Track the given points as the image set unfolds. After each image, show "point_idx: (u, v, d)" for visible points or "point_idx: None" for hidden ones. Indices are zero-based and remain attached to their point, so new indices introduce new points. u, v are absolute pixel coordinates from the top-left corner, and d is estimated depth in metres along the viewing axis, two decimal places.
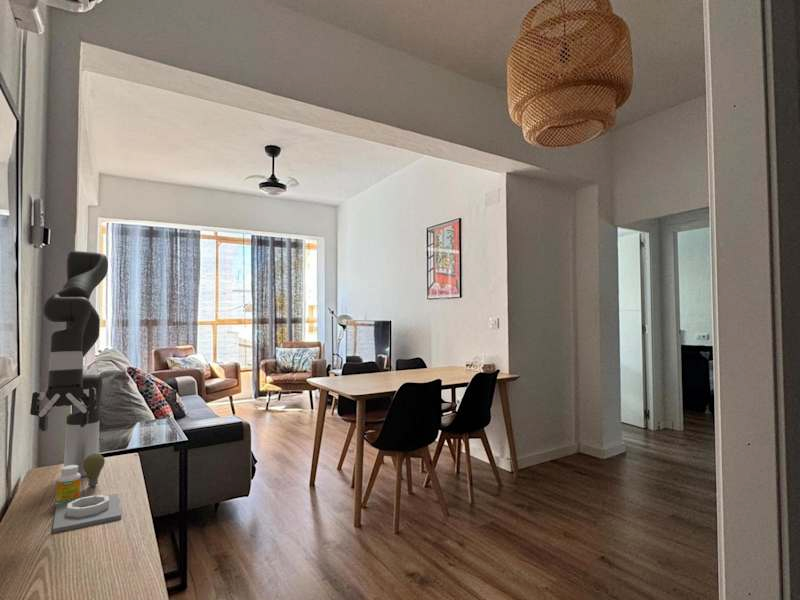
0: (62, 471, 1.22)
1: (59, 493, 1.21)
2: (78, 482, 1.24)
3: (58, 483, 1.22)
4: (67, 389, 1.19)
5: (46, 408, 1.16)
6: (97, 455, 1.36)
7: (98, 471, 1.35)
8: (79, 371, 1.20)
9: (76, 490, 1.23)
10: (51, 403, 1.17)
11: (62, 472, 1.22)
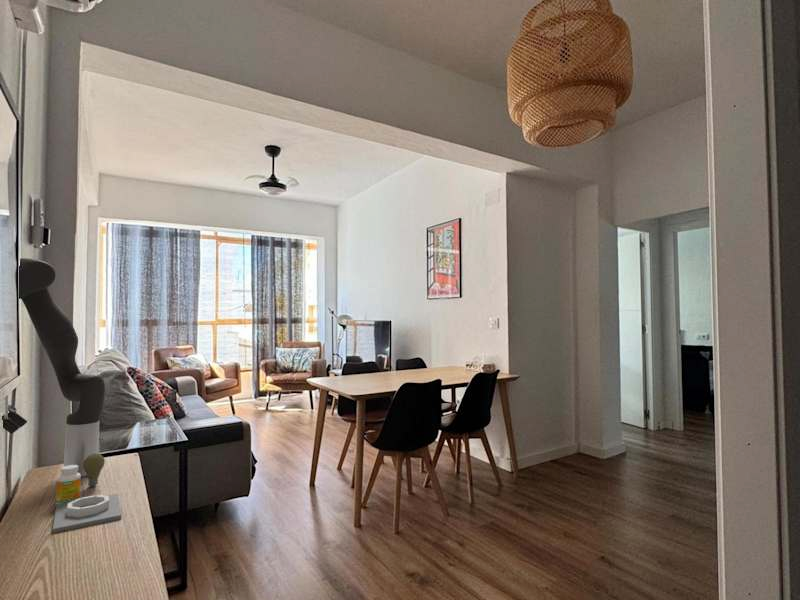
0: (62, 471, 1.22)
1: (59, 493, 1.21)
2: (78, 482, 1.24)
3: (58, 483, 1.22)
4: None
5: None
6: (97, 455, 1.36)
7: (98, 471, 1.35)
8: None
9: (76, 490, 1.23)
10: None
11: (62, 472, 1.22)
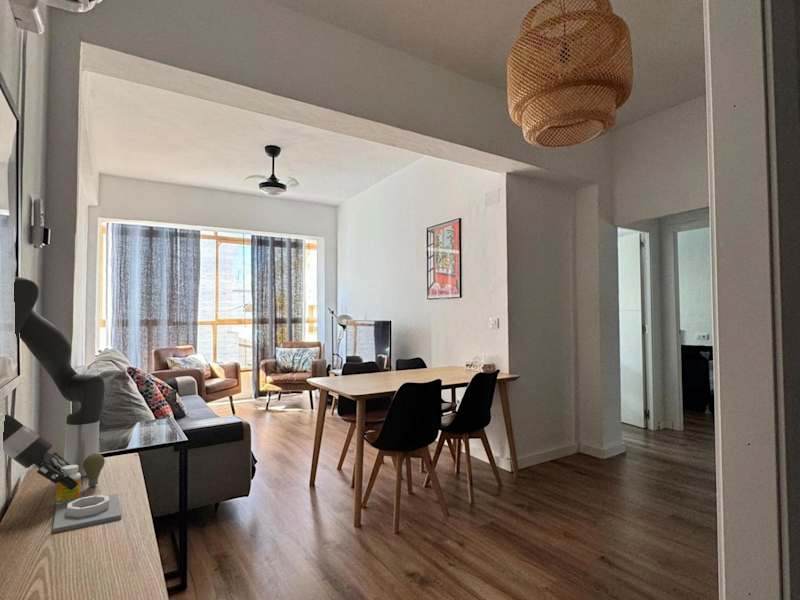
0: None
1: (59, 493, 1.21)
2: (78, 482, 1.24)
3: (58, 483, 1.22)
4: None
5: None
6: (97, 455, 1.36)
7: (98, 471, 1.35)
8: (20, 456, 1.17)
9: (76, 490, 1.23)
10: None
11: None
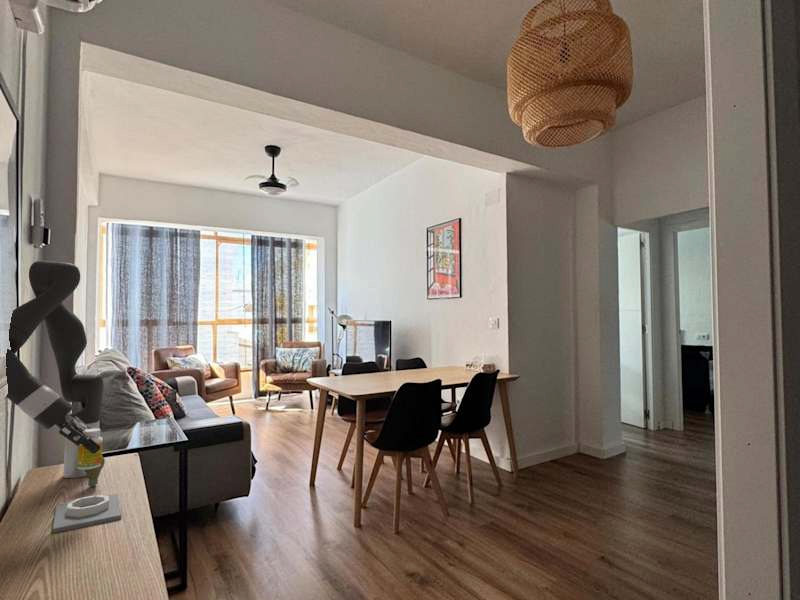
0: None
1: (80, 456, 1.14)
2: None
3: (80, 446, 1.15)
4: None
5: None
6: None
7: (98, 471, 1.35)
8: (40, 416, 1.10)
9: (98, 455, 1.17)
10: None
11: None
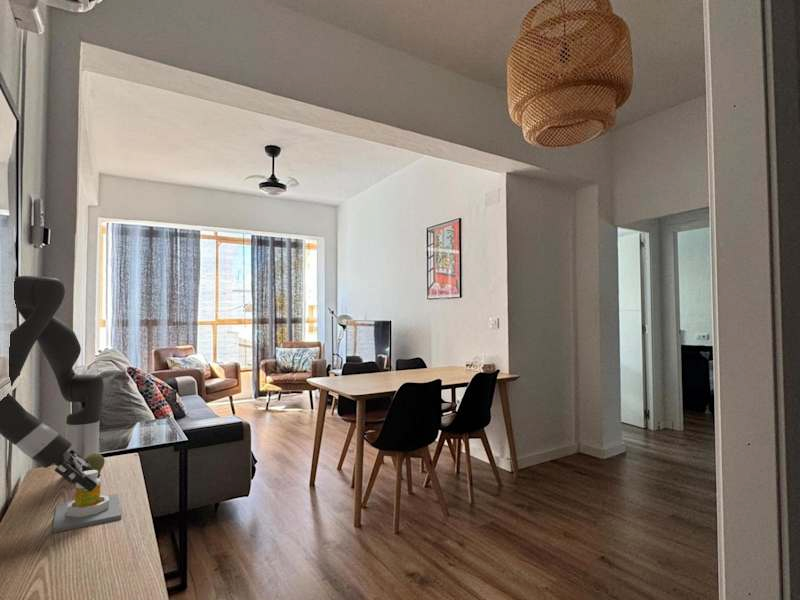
0: None
1: (78, 500, 1.14)
2: (98, 488, 1.17)
3: (77, 489, 1.14)
4: None
5: None
6: (97, 455, 1.36)
7: (98, 471, 1.35)
8: (39, 455, 1.09)
9: (96, 497, 1.16)
10: None
11: None
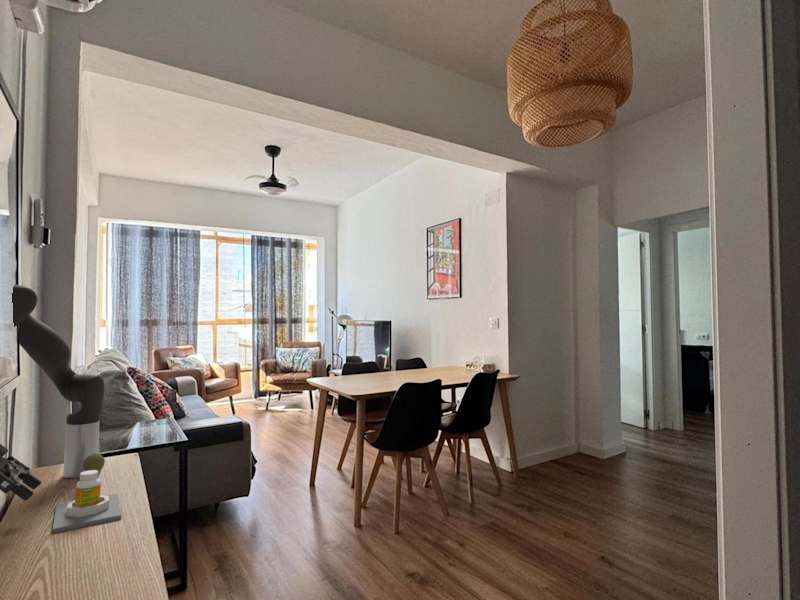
0: (81, 477, 1.15)
1: (78, 500, 1.14)
2: (98, 488, 1.17)
3: (77, 490, 1.14)
4: None
5: None
6: (97, 455, 1.36)
7: (98, 471, 1.35)
8: None
9: (96, 497, 1.16)
10: None
11: (81, 478, 1.15)
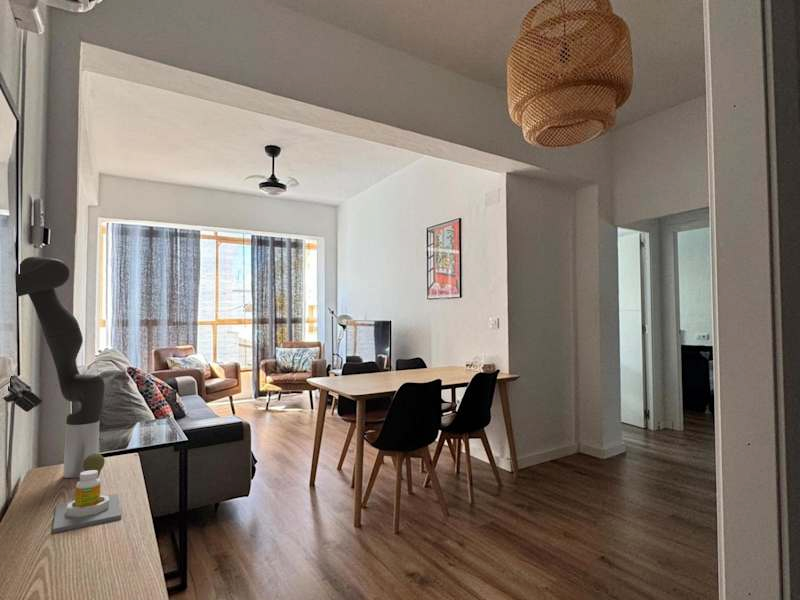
0: (81, 477, 1.15)
1: (78, 500, 1.14)
2: (98, 488, 1.17)
3: (77, 490, 1.14)
4: None
5: None
6: (97, 455, 1.36)
7: (98, 471, 1.35)
8: None
9: (96, 497, 1.16)
10: None
11: (81, 478, 1.15)
